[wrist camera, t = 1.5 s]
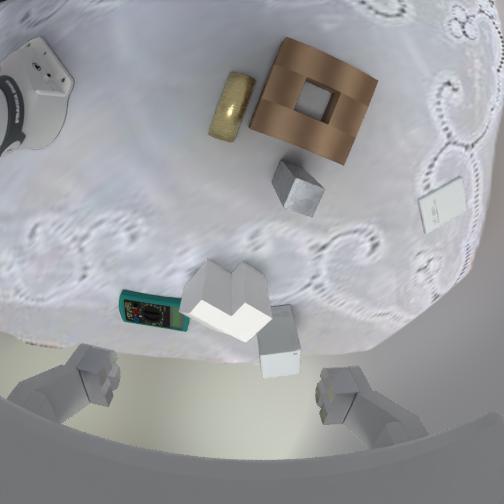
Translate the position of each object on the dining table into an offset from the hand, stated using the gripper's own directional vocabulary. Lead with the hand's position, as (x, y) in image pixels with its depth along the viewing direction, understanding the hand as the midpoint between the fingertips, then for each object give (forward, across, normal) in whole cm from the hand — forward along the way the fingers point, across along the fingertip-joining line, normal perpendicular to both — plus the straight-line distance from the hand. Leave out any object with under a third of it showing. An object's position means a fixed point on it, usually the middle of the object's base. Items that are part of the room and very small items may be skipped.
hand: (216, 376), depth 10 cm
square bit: (+38, -8, -6) cm, 39 cm away
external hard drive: (+40, -41, -6) cm, 58 cm away
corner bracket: (+42, +1, +14) cm, 44 cm away
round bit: (+36, +3, -16) cm, 39 cm away
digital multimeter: (+43, +15, +22) cm, 51 cm away
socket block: (+36, -10, -19) cm, 42 cm away
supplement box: (+44, -10, +23) cm, 50 cm away
